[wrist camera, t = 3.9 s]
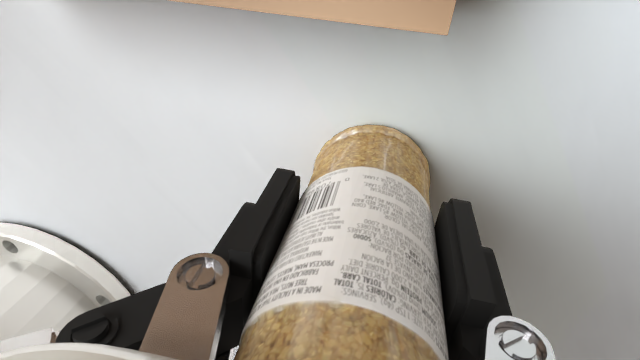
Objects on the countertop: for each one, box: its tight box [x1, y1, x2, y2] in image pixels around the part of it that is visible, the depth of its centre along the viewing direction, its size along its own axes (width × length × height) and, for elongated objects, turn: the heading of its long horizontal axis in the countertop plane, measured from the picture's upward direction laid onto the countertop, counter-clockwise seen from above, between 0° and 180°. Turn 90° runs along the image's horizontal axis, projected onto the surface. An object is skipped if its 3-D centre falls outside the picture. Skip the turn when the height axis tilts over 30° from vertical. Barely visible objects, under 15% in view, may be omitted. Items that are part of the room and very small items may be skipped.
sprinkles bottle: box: [234, 125, 449, 360], centre depth 9 cm, size 5×5×13 cm
